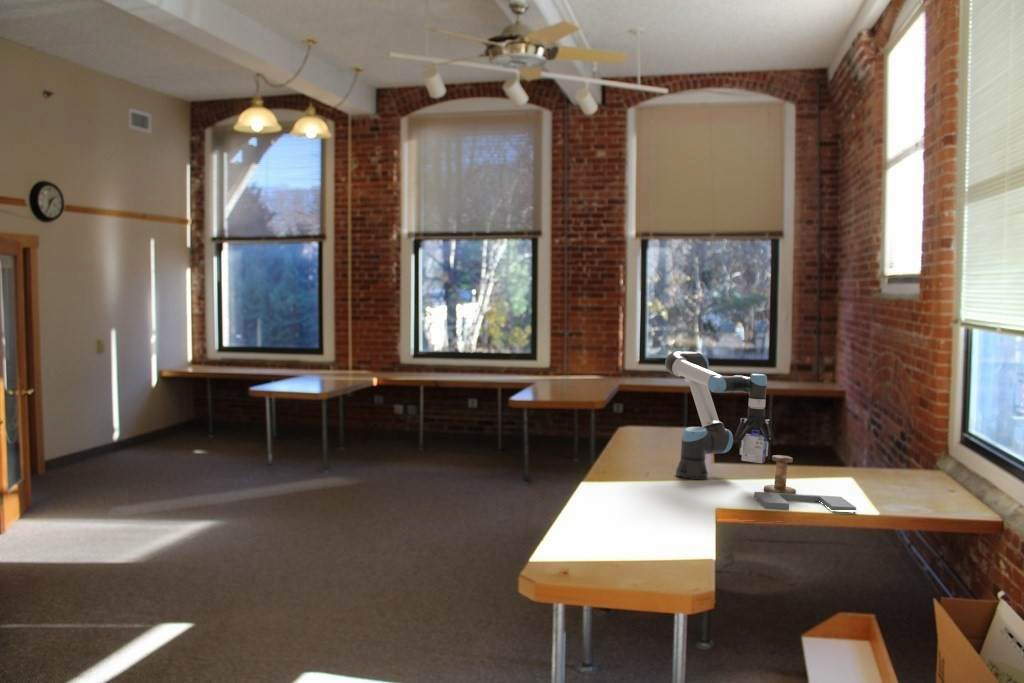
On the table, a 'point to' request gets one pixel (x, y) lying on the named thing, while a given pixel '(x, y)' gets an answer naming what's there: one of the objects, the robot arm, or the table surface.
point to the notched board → (780, 500)
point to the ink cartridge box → (754, 447)
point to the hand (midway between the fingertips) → (753, 455)
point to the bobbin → (780, 476)
